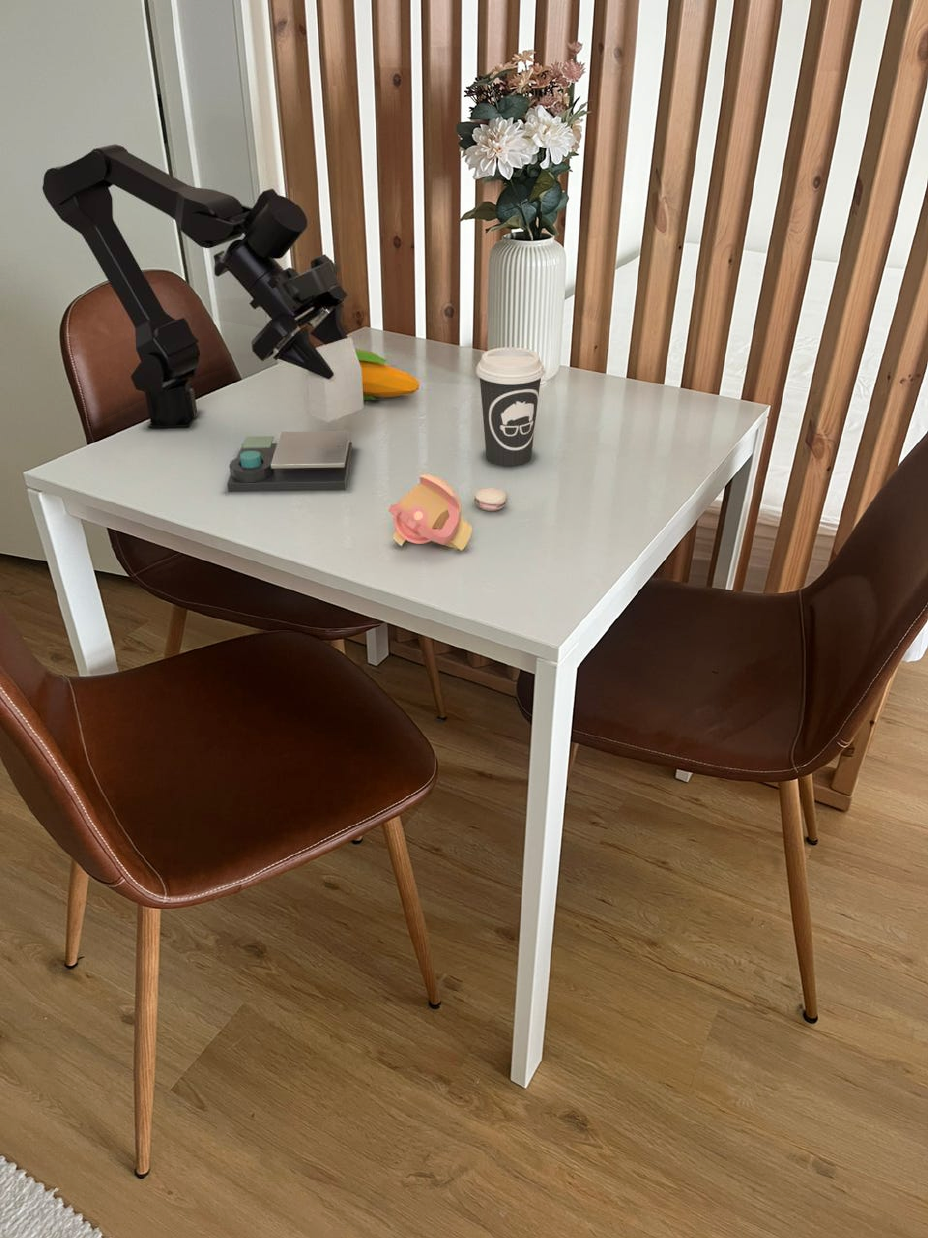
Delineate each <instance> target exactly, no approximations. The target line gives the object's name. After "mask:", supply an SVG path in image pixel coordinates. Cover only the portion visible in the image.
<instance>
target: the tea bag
mask: <svg viewBox="0 0 928 1238" xmlns="http://www.w3.org/2000/svg"><path fill="white" fill-rule="evenodd" d="M315 348H316V350H317V351H318V352H319V353H320V355H321V356H322V357H323V359H324V360H325V361H326V363H327V364H328V365H329V367H330V368H331V370H332V371H333V373H334V376H333V377H332V378H331V379H326V378H324V377H322V376H319V375H317V374H315V373H313V372H310V371H308V370H307V374H306V376H307V389H308V400H309V411H310V412H309V413H310V416H313V417H314V418H317V419H319V420H321V421H324V422H326V423H329V422H332V421H334V420H337V419H340V418H343V417H345V416H348V415H351V414H353V413H356V412H359V411H362V410H364V408H365V407H364V399H363V387H362V369H361V366H360V363H359V360H358V358H357V355H356V352H355V345H354V343H353V338H352V337H350V336H349V337H348V338H345V339H342V340H339V341H336V342H333V343H330V344H326V345H325V344H323V345H320V346H317V347H315Z"/></svg>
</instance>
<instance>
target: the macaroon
mask: <svg viewBox="0 0 928 1238" xmlns="http://www.w3.org/2000/svg"><path fill="white" fill-rule="evenodd" d="M507 496H508V495H507V492H506V490H504V489H501V488H494V487H486V488H481V489H479V490H477V491H476V492H475V493H474V504H475V505H476V506H477V507H478V508H479V509H481V510H483V511H488V512H494V511H497V510H500V509H502V508H503V507H504V505H505V504H506V502H507Z"/></svg>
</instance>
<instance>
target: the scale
mask: <svg viewBox="0 0 928 1238" xmlns="http://www.w3.org/2000/svg"><path fill="white" fill-rule="evenodd" d="M277 443H278V442H272V445H271V448H242V446H243V443H241V447H240V450H239V452H238V455H237V457H236V458H234V459H232V460H230V464H229V471H230V476H229V478H228V481H227V483H226V484H227V490H228V493H255V492H256V493H257V492H258V493H261V492H262V493H263V492H264V493H265V492H320V491H321V492H323V491H324V492H327V491H328V492H329V491H330V492H331V491H346V489H347V484H348V477H349V471H350V465H351V461H352V454H353V443H352V442H351V441H349V444H348V450H347V456H346V461H345V467H344V468H279V469H271V462H272V459H273V456H274V453H275V450H276V446H277ZM246 451H257V452H259V453H260V455H261V462H262V465H261V466H259V467H255V468H243V467H241V461H240V454H241V453H243V452H246Z"/></svg>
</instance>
